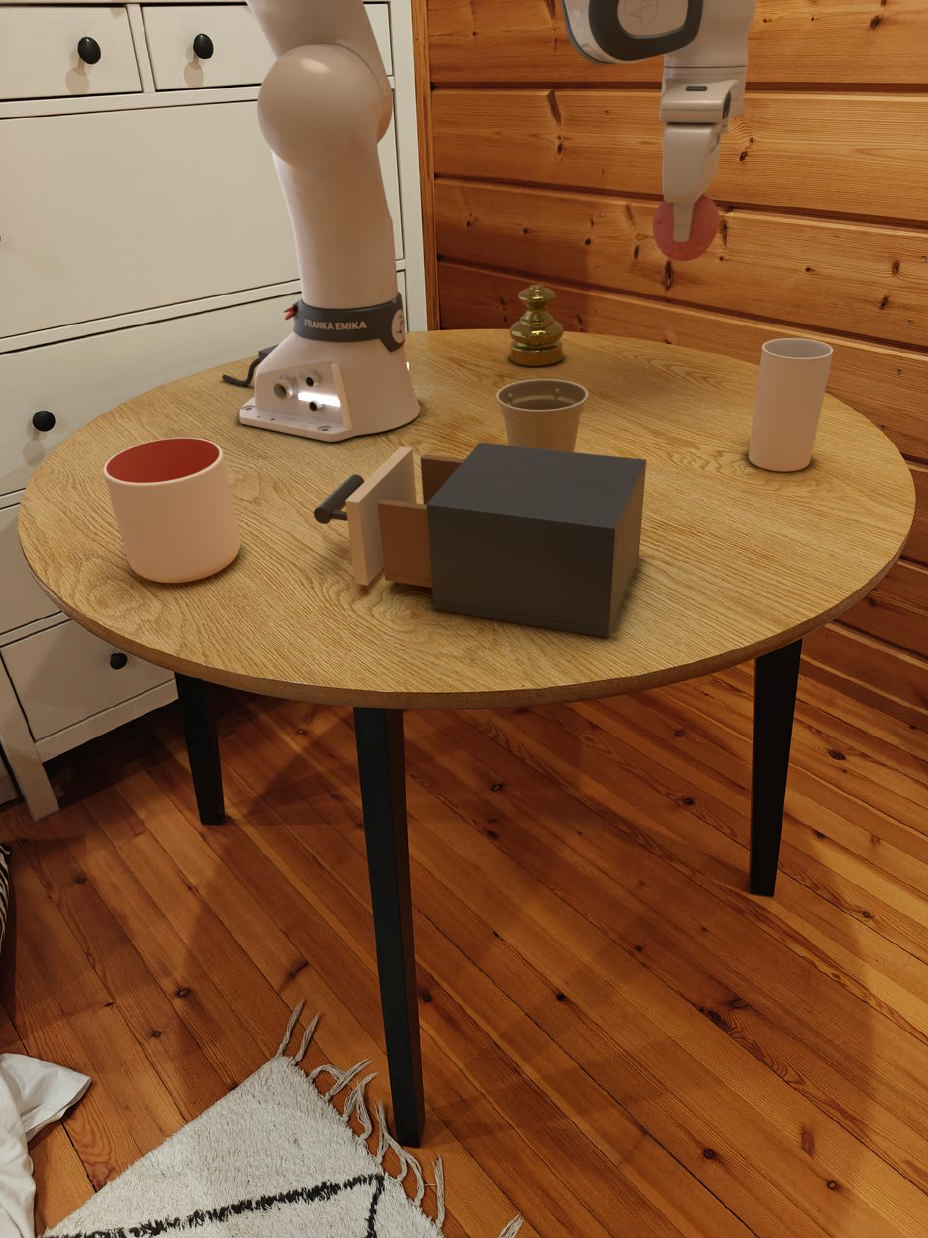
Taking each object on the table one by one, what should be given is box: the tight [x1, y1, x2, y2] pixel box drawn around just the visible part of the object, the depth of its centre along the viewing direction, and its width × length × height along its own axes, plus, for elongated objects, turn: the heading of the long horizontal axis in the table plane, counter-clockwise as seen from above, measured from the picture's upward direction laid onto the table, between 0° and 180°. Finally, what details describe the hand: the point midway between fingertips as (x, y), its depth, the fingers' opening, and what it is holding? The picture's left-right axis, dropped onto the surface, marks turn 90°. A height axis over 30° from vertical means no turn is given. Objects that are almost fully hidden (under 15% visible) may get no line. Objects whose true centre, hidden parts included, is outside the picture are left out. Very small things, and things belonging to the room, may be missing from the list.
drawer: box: [313, 446, 466, 589], centre depth 77 cm, size 18×11×8 cm, turn 70°
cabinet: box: [426, 442, 647, 639], centre depth 74 cm, size 15×13×10 cm
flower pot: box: [495, 378, 590, 452], centre depth 93 cm, size 9×9×9 cm
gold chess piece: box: [509, 284, 564, 367], centre depth 125 cm, size 7×7×10 cm
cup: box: [102, 437, 241, 584], centre depth 80 cm, size 10×10×10 cm
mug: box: [748, 337, 834, 473], centre depth 94 cm, size 10×7×12 cm, turn 3°
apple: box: [651, 195, 720, 262], centre depth 105 cm, size 7×7×8 cm
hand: (686, 232), depth 106 cm, fingers closed on apple, 7 cm apart
